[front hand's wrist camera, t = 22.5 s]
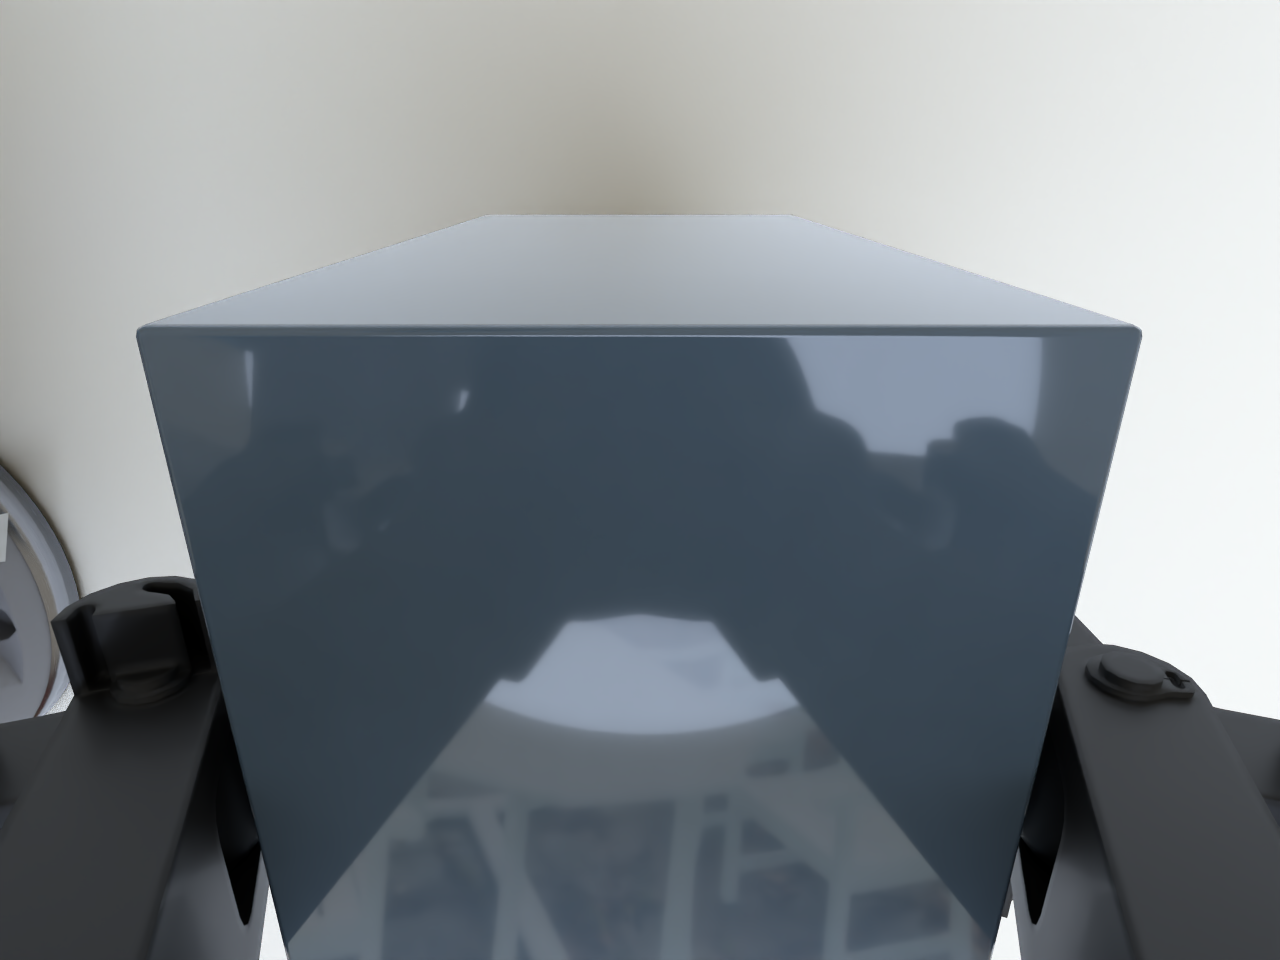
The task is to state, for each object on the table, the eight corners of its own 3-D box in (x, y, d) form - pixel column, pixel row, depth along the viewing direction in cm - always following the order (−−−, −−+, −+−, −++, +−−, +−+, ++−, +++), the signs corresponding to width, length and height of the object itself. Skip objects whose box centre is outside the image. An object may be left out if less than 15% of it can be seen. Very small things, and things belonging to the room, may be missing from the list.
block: (766, 609, 19) (936, 1198, 8) (511, 609, 19) (343, 1199, 8) (794, 214, 15) (1150, 326, 5) (484, 214, 15) (129, 326, 5)
